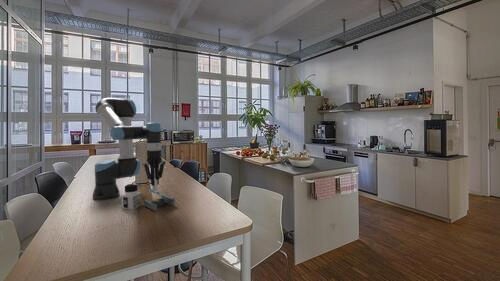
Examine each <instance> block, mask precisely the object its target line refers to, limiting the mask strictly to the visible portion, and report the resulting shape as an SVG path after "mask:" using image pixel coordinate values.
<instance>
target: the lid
mask: <svg viewBox="0 0 500 281" xmlns="http://www.w3.org/2000/svg"><path fill="white" fill-rule="evenodd" d="M147 192H151V193H153V194H156V195H159V196H160V197H161V196H164V197H167V198H170V199H173V198H174V197H171V196H168V195H165V194H164V193H161V192H160V191H153V188H152V189H149V188H148V189H147Z"/></svg>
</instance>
